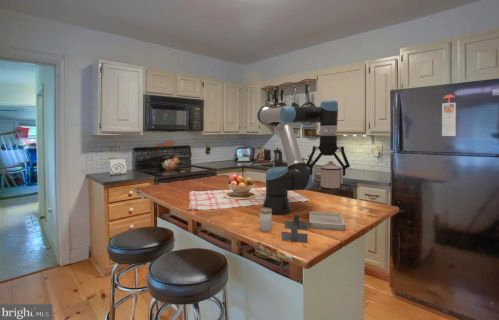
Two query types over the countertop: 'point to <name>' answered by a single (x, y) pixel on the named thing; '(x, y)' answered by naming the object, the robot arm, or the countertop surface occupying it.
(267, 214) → the jar
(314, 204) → the countertop surface
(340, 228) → the tray
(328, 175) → the teacup with lid
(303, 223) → the clip cradle
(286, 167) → the robot arm
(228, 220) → the countertop surface
